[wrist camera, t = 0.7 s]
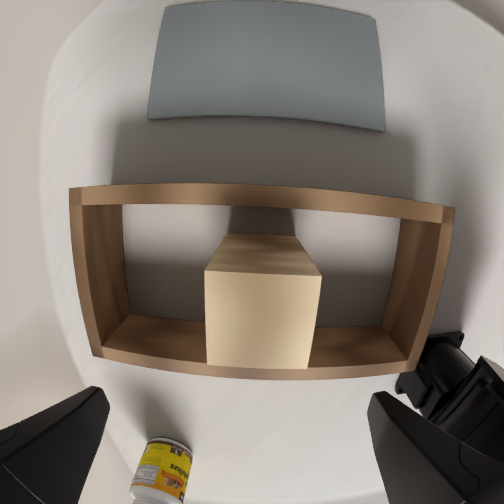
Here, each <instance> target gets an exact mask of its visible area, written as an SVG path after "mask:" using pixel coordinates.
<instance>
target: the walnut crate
mask: <svg viewBox="0 0 504 504" xmlns="http://www.w3.org/2000/svg"><path fill="white" fill-rule="evenodd" d="M122 204H202V205H235V206H258V207H277V208H293V209H308V210H321V211H334V212H346V213H356V214H367V215H377V216H386V217H395V218H401V225H400V233H399V240H398V247H397V254H396V260H395V266H394V271H393V277H392V282H391V287H390V292H389V296H388V301H387V305H386V309H385V313H384V317H383V321H382V325H381V326H361V327H315V328H314V334H313V340H312V345H311V351H310V356H309V362H308V367H307V369H263V368H242V367H227V366H215V365H207V349H206V324H205V322H197V321H187V320H177V319H168V318H159V317H151V316H143V315H136V314H130V307H129V300H128V292H127V283H126V273H125V262H124V249H123V231H122ZM69 211H70V229H71V242H72V252H73V260H74V268H75V275H76V282H77V288H78V294H79V299H80V304H81V309H82V314H83V319H84V323H85V327H86V332H87V336H88V340H89V343H90V347H91V351H92V354H93V356H96V357H100V358H104V359H108V360H113V361H117V362H122V363H127V364H131V365H137V366H142V367H147V368H153V369H159V370H165V371H172V372H179V373H186V374H194V375H203V376H213V377H225V378H238V379H257V380H325V379H344V378H357V377H368V376H378V375H386V374H394V373H401V372H408V371H414V370H415V368H416V366H417V363H418V361H419V358H420V355H421V353H422V350H423V347H424V345H425V342H426V339H427V336H428V333H429V330H430V327H431V324H432V321H433V317H434V314H435V310H436V307H437V303H438V300H439V296H440V292H441V288H442V284H443V280H444V275H445V271H446V266H447V261H448V255H449V250H450V244H451V237H452V231H453V223H454V214H455V208H452V207H447V206H442V205H437V204H432V203H426V202H420V201H415V200H408V199H402V198H395V197H388V196H380V195H373V194H365V193H356V192H347V191H338V190H327V189H316V188H304V187H290V186H275V185H256V184H229V183H146V184H120V185H102V186H89V187H78V188H69Z"/></svg>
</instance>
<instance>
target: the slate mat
mask: <svg viewBox="0 0 504 504" xmlns="http://www.w3.org/2000/svg"><path fill="white" fill-rule="evenodd" d="M186 117H264V118H281V119H293V120H304V121H313V122H322V123H329V124H337V125H343V126H350V127H356V128H361V129H367V130H372V131H377V132H385V110H384V89H383V76H382V65H381V55H380V47H379V40H378V33H377V27H376V21H375V19H374V18H371V17H367V16H363V15H359V14H355V13H351V12H347V11H342V10H337V9H332V8H327V7H321V6H314V5H307V4H299V3H289V2H277V1H252V0H239V1H214V2H202V3H192V4H184V5H177V6H171V7H165V11H164V15H163V20H162V24H161V29H160V33H159V38H158V43H157V49H156V54H155V60H154V66H153V73H152V80H151V87H150V95H149V104H148V114H147V119H148V120H157V119H170V118H186Z"/></svg>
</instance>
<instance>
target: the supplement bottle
mask: <svg viewBox="0 0 504 504" xmlns="http://www.w3.org/2000/svg"><path fill="white" fill-rule="evenodd" d="M192 459H193V456H192V453H191V451H190V450H189V449H188V448H187V447H186V446H184V445H183V444H181V443H179V442H177V441H174V440H171V439H167V438H154V439H151V440H150V441H149V442H148V443H147V445H146V448H145V450H144V453H143V455H142V458H141V460H140V463H139V465H138V468H137V471H136V473H135V476H134V479H133V482H132V484H131V487H130V494H131V496H132V497H133V498H134V502H133V504H183V500H184V495H185V491H186V486H187V482H188V478H189V473H190V469H191V464H192Z"/></svg>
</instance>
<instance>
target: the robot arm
mask: <svg viewBox="0 0 504 504" xmlns="http://www.w3.org/2000/svg"><path fill="white" fill-rule="evenodd" d="M463 339H464V333H463V332H461V331H460V332H453V333H446V334H438V335H430V336H427V339H426V342H425V345H424V347H423V350H422V353H421V355H420V358H419V361H418V363H417V366H416V368H415V370H414V371H408V372H402V374H401V376H400V379H399V381H398V383H397V386H396V388H395V392H396V393H397V394H403V393H406V394H407V396H408V398H409V400H410V401H411V403H412V405H413V406H414V408H415V409H419V411H420V412H421V414H422V416H421V415H420V414H418V413H417V412H415V411H414V410H412V409H411V408H409V407H408V406H406V405H405V404H403V403H402V402H401V401H399V400H398V399H396V398H395V397H393V396H392V395H390V394H389V393H388V392H386V391H381V392H376V393H373V395H372V397H371V400H370V404H369V407H368V411H367V416H368V421H369V426H370V432H371V437H372V442H373V448H374V453H375V457H376V460H377V463H378V466H379V470H380V473H381V476H382V480H383V483H384V486H385V490H386V493H387V497H388V501H389V504H504V369H503V368H502V367H501V366H499V365H498V364H496V363H494V362H493V361H491V360H489V359H487V358H485V357H484V356H482V355H481V356H480V358H479V359H478V360H477V361H478V362H477V363H476V364H475V363H474V362H473V361H472V360H471V359H470V358H469V357H468V356H467V355H466V354H465V353H464V352H463V351H462V350H461V349H460V346H461V344H462V341H463ZM109 411H110V404H109V402H108V400H107V397H106V395H105V393H104V391H103V389H102V388H99V387H95V386H91V387H88V388H87V389H85V390H83V391H81V392H79V393H77V394H75V395H73V396H71V397H69V398H67V399H65V400H63V401H61V402H60V403H57V404H55V405H53V406H51V407H49V408H47V409H45V410H43V411H41V412H39V413H37V414H35V415H33V416H31V417H29V418H27V419H25V420H22V421H21V422H20V423H19V422H18V423H16V424H14V425H12V426H9V427H7V428H5V429H2V430H0V504H78V501H79V498H80V495H81V492H82V489H83V486H84V484H85V481H86V478H87V476H88V473H89V470H90V468H91V465H92V463H93V460H94V457H95V455H96V452H97V450H98V447H99V445H100V442H101V439H102V435H103V432H104V428H105V425H106V421H107V418H108V414H109Z"/></svg>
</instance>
